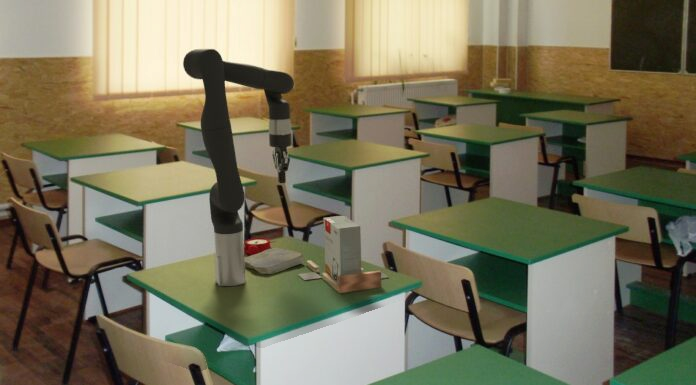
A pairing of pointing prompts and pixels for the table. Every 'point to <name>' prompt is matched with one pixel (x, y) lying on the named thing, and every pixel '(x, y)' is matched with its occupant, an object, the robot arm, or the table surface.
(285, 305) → the table surface
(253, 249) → the alarm clock
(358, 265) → the hard drive box
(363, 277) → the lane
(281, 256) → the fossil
